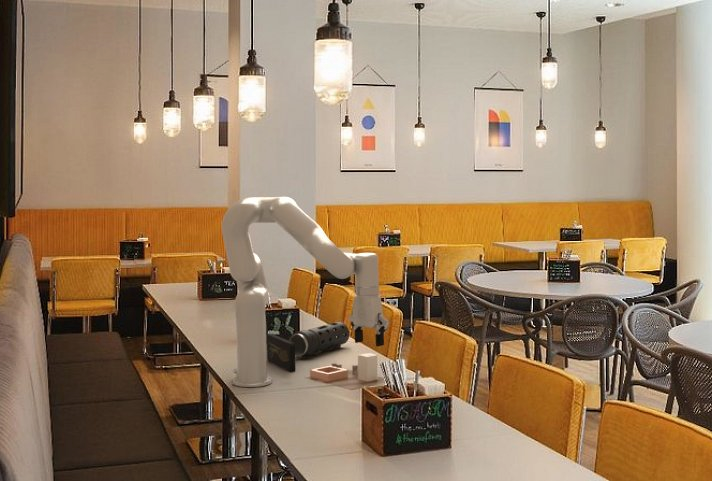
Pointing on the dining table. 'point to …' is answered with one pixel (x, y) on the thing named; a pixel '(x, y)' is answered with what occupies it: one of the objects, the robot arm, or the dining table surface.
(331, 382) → the board
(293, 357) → the nameplate
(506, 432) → the dining table surface
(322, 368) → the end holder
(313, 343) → the muzzle brake
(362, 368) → the white rectangular block
